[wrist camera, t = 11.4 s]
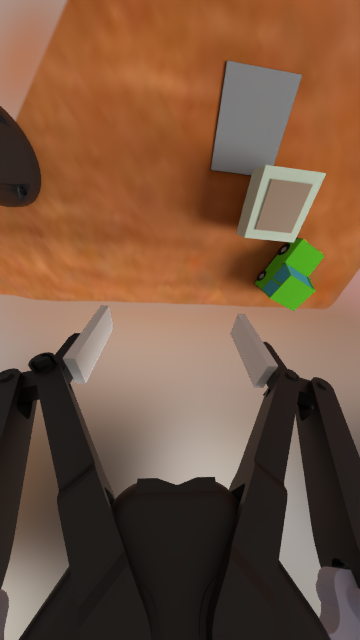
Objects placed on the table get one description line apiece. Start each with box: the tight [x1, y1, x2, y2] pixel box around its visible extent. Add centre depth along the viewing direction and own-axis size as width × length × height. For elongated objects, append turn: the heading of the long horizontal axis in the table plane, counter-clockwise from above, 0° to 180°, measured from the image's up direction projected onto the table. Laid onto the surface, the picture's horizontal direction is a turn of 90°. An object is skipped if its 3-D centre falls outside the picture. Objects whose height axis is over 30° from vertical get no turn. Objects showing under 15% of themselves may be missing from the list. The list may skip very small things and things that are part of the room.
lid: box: [236, 165, 326, 243], centre depth 29 cm, size 10×10×5 cm
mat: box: [211, 61, 302, 175], centre depth 28 cm, size 12×12×1 cm
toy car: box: [255, 238, 324, 311], centre depth 39 cm, size 10×13×10 cm
